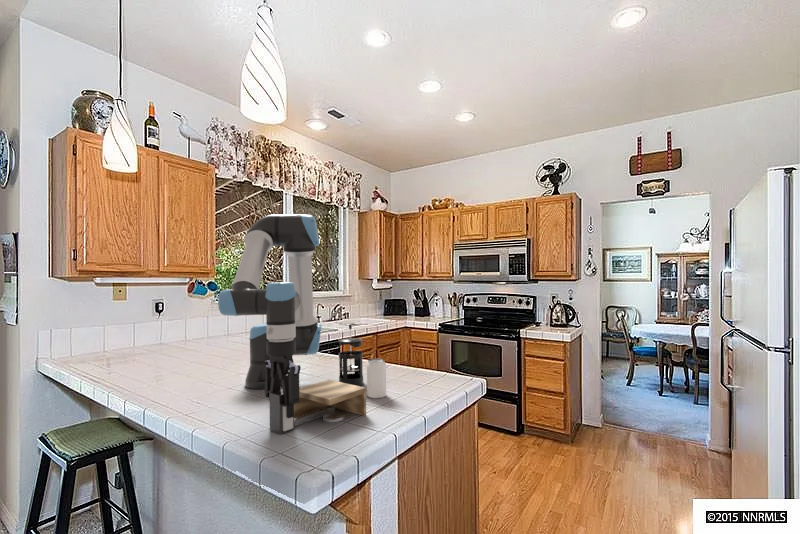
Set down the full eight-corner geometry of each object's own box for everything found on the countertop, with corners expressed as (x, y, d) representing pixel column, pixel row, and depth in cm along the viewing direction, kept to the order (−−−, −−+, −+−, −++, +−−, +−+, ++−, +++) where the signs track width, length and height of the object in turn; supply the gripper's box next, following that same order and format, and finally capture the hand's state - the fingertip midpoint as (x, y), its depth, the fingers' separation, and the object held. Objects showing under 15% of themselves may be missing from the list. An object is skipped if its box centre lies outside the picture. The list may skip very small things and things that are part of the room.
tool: (269, 430, 108) (269, 392, 108) (328, 409, 124) (327, 376, 124) (279, 434, 105) (279, 395, 105) (338, 412, 121) (338, 378, 121)
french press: (355, 390, 144) (354, 325, 145) (332, 387, 148) (331, 324, 148) (370, 382, 155) (369, 322, 156) (348, 379, 159) (347, 321, 159)
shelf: (292, 417, 117) (292, 389, 117) (329, 404, 128) (328, 379, 128) (330, 429, 107) (329, 399, 108) (366, 415, 118) (365, 387, 118)
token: (319, 421, 115) (318, 416, 115) (334, 415, 119) (334, 410, 119) (333, 426, 111) (333, 421, 111) (349, 419, 116) (349, 414, 116)
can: (383, 399, 133) (383, 362, 134) (364, 398, 135) (364, 362, 135) (388, 393, 140) (387, 358, 140) (370, 392, 141) (369, 358, 141)
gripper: (250, 338, 111) (251, 424, 110) (289, 344, 100) (290, 439, 99) (274, 335, 117) (274, 416, 116) (313, 340, 106) (314, 430, 105)
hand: (282, 427), depth 108 cm, fingers closed on tool, 4 cm apart
